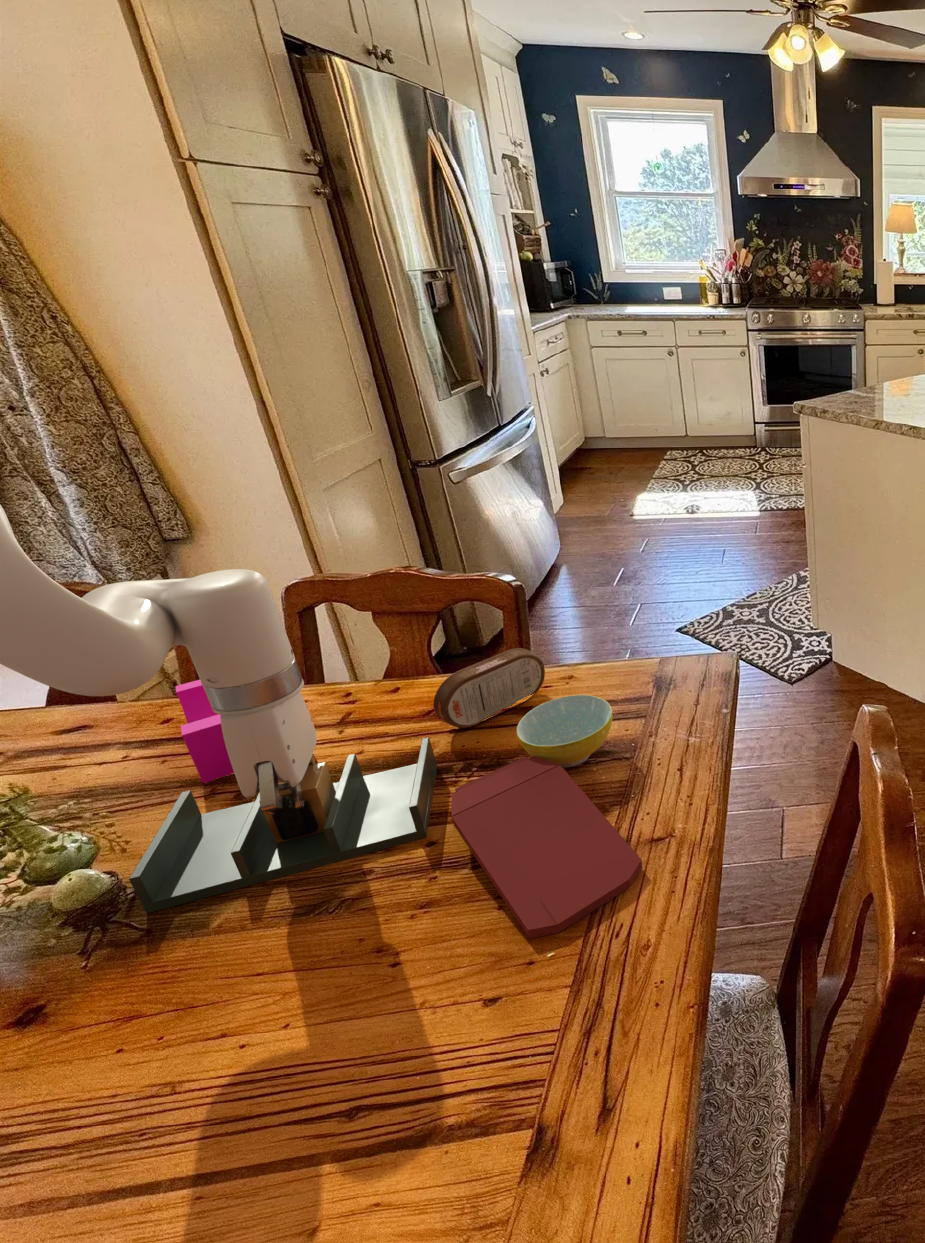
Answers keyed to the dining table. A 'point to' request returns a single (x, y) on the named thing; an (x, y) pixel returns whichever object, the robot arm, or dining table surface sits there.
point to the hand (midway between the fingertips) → (306, 816)
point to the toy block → (203, 733)
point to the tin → (488, 687)
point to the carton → (543, 844)
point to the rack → (247, 853)
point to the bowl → (566, 729)
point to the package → (310, 797)
